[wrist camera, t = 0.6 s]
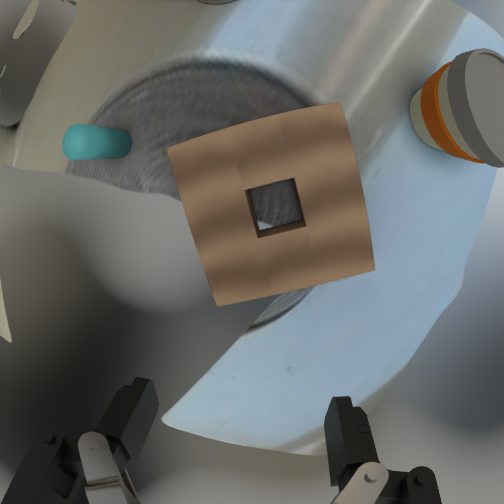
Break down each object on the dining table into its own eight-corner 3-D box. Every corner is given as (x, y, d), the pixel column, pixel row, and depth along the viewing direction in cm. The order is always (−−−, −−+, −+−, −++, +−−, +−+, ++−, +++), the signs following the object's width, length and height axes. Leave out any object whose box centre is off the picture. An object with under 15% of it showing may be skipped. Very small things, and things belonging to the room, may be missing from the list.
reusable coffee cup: (465, 90, 26) (530, 73, 12) (466, 169, 30) (538, 180, 16) (395, 67, 27) (452, 26, 13) (397, 154, 31) (466, 153, 17)
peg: (105, 136, 33) (60, 133, 23) (128, 125, 32) (84, 117, 23) (111, 162, 34) (66, 165, 24) (134, 151, 33) (91, 151, 24)
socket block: (177, 149, 33) (166, 148, 29) (332, 108, 30) (340, 101, 26) (222, 292, 38) (217, 306, 35) (365, 259, 35) (375, 270, 32)
